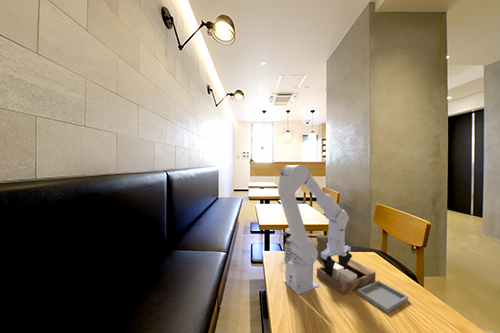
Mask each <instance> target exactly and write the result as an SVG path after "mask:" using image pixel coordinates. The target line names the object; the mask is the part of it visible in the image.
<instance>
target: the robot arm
mask: <svg viewBox="0 0 500 333" xmlns="http://www.w3.org/2000/svg"><path fill="white" fill-rule="evenodd" d="M278 175H279V182H278V189H277V192H278V196H279V199H280V202H281V205H282V208H283V213H284V216H285V219H286V223H287V225H288V228H289V229H290V232H291V234H290V236H288V237H289V239H290V249H289V250H291V251H292V252H293V259H292V260H291V261H290V262H288V263H286V264H285V279H284V283H285V284H287V285H288V286H289V287H290V288H291V289H292V290H293V291H294V292H295V293H296V294H298V295H300V294H303V293H306V292H307V291H310V290H314V289H316V288H318V287H319V285H318V284H317V283H316V282H314V265H315V263H316V261H318V260H317V257H318V252H317V247H315V246H314V244H313V241H312V240H311V238H310V237H309V236H308V235H307V234H308V233H307V232H306V228H305V225H304V221H303V218H302V214H301V211H300V208H299V205H298V201H297V198H296V192H297V191H298V190H299V189H300V188H301V187H302V186H304V187H305V188H306V189H307V190H308V191H309V192H310V193H311V194H312V196H313V197H314V198H316V205H318V207H319V208H320V209H321V210H322V212H323V213H324V216H325V218H326V219H327V220H328V243H327V249H326V250H324V251H323V252H321V255H320V258H321V260H322V261H321V262H322V263H323V264H322V265H323V266H324V267H325V270H326V274H328V275H329V276H331V277H332V274H333V267H334V264H335V262H337V261H336V260H334V259H333V257H334V256H336V257H337V258H338V261H339V265H341V266H342V267H344V270H345V269H346V268H347V265H348V262H349V260H350V259H351V258H352V257H353V254H352V253H351V252H352V251H351V246H350V245H345V244H346V243H345V242H346V240H345V237H346V236H345V234H346V233H345V232H346V230H345V229H346V228H347V223H348V222H349V219H350V216H348V213H347V211H346V210H345V209H342V208H341V207H340V205H339V203H337V202H336V201H335V199H334V196H333V195H332V194H329V193H325V192H324V191H323V190H322V188H321V187H320V185H319V184H318V182H317V181H316V180H315V179H314V177H313V175H312V172H311V171H310V170H309V169H308V167H307V166H305V165H303V164H295V165H294V164H293V165H291V164H286V165H284V166H283V167H282V169H281V170H280V171H279V173H278ZM351 260H352V259H351Z"/></svg>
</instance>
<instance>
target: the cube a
mask: <svg viewBox="0 0 500 333" xmlns="http://www.w3.org/2000/svg"><path fill="white" fill-rule="evenodd" d="M343 270H344V267H342V266H341V265H339V264H337V263H335V264H334V267H333V274H332V278H334V279H335V280H339V279H340V271H343Z"/></svg>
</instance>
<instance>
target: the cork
mask: <svg viewBox="0 0 500 333" xmlns="http://www.w3.org/2000/svg"><path fill="white" fill-rule="evenodd" d="M328 238H329V236H327V235H324V234H317V236H316V239H315V240H316V241H317V244H316V249H317V252H318V257H317V260H316V261H319V262H323V261H322V260H321V258H320V255H321V252H323V251H324V250H326V249H327V248H328Z"/></svg>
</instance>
